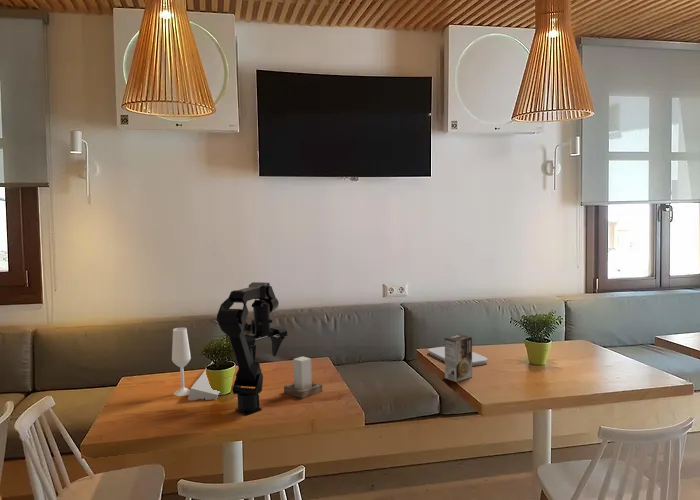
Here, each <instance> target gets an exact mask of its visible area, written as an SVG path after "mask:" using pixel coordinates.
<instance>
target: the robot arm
mask: <svg viewBox="0 0 700 500" xmlns="http://www.w3.org/2000/svg"><path fill="white" fill-rule="evenodd" d="M252 300H254V301H253V302H252V303H251V308H252V311H253V312H252V314H253V319H251V322H250V324H248V322H247V317H248V315H249V310H248V309H249V308H248V305H247V303H248V301H252ZM234 303H236V304H243V305H242V309H241V308H232V307H233V306H234ZM278 307H279V300H278V298H277V297H276V295H275V292H274V289H273V287H272V286H271V283H270V282H259V281H258V282H257V281H255V282H251V283H250V284H248V287H246V288H241V289H236V290H232V291H230V294H229V295H228V297H227V298H226V299H225V300H224V301H223V302H222V303H221V304H220V306H219V309H218V312H217V314H216V322H217V324H218V326H219V328H220V331H222V332H223V333H224V334H226V336H228V339H229V342H230V346H231V348H232V352H233V354H234V358H235V361H236V365H237V368H238V369H237V371H236V374H235V380H234V382H233V386H232V394H233V395H237V408H235V411H236V412H238V413H240V414H243V415H246V416H247V415H251V414H253V413H256V412H259V411H261V410H262V408H263V407H260V393H261V392H262V391H263V384H264V374H263V373H262V369H261V365H260V363H259V362H258V361H256V353H257V352H256V351H257V345H256V341H260V340H263V339H267V338H270V340H271V353H272V357H276V355H277V353H278V351H279V348H280V347H281V345H282V343H283V341H284V340H285V339H286V337H287V336H288V330H287V328H286V327H283V326H279V325H278V326H274V327H271V323H273V319H271V314H270V313H272V312H274V311H276V309H278Z"/></svg>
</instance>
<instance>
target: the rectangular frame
mask: <svg viewBox="0 0 700 500" xmlns="http://www.w3.org/2000/svg"><path fill="white" fill-rule="evenodd" d="M321 392H323V384H321V383H318V382H314V381H312V387H310V388H308V389H305V390H300V389H297V388H294V382H292V383H289V384H286V385H284V386H283V393H285V394H286V395H290V396H293V397H296V398H299V399H302V400H303V399H306V398H309V397H310V396H314V395H317V394H319V393H321Z"/></svg>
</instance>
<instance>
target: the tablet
mask: <svg viewBox="0 0 700 500" xmlns="http://www.w3.org/2000/svg"><path fill="white" fill-rule="evenodd" d="M428 352H429V355H431V356H432V357H435V358H437V359H439V360H440V361H443V362H444V363H445V345H444V346H437V347H432V348H428ZM487 362H488V358H487V357H486V356H483V355H481V354H479V353H477V352H474V351H472V367H474V366H482V365H485V364H487Z"/></svg>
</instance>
